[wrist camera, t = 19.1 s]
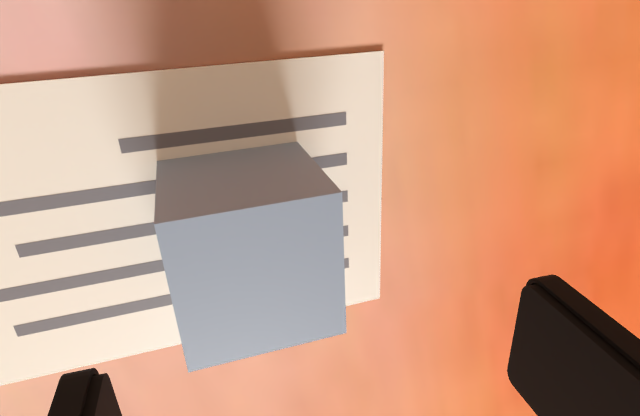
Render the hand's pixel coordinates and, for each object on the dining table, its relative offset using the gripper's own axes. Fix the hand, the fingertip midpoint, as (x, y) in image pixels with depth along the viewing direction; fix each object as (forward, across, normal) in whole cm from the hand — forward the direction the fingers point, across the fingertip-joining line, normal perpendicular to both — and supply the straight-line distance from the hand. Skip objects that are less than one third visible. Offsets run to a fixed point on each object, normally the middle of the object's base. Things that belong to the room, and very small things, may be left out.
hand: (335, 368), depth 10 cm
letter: (+9, +4, 0) cm, 10 cm away
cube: (+9, +1, 0) cm, 9 cm away
